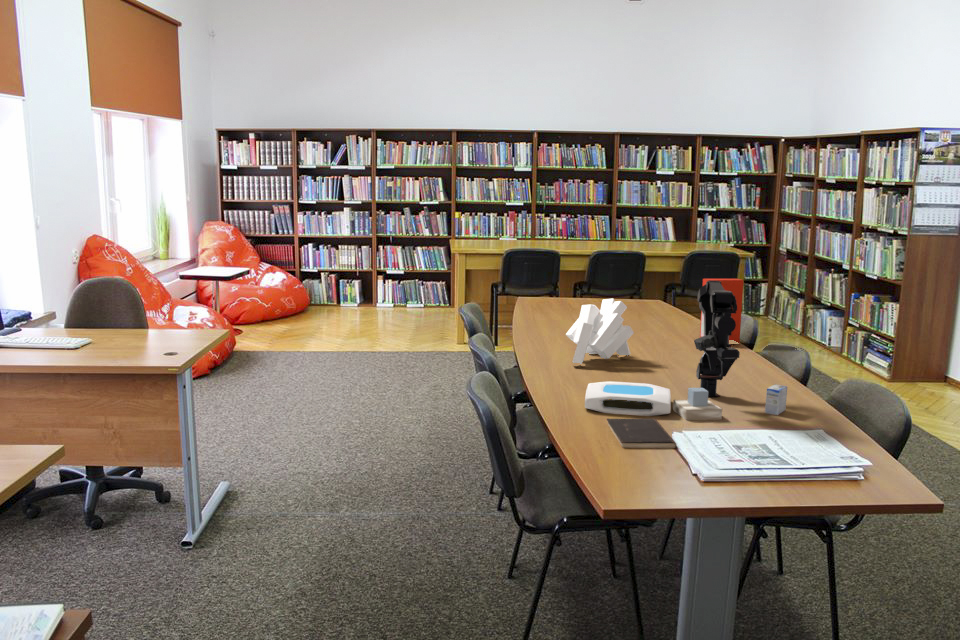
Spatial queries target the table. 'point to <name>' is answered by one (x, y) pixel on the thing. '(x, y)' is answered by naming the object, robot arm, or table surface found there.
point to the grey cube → (697, 396)
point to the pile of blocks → (600, 331)
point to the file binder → (737, 291)
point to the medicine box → (776, 399)
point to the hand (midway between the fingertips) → (717, 373)
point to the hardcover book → (640, 433)
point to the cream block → (697, 411)
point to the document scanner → (628, 397)
